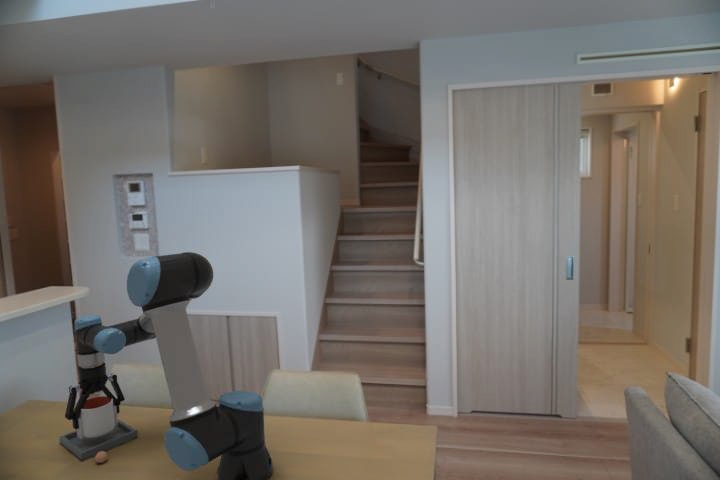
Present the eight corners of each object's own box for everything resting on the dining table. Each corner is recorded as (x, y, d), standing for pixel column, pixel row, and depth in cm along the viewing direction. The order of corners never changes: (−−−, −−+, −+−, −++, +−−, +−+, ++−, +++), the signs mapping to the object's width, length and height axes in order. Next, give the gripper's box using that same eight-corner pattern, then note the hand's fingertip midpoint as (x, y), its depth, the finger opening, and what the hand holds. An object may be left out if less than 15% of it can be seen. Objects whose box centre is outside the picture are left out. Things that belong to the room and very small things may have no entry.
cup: (100, 441, 150) (97, 410, 149) (72, 438, 152) (69, 408, 151) (122, 425, 160) (119, 396, 159) (96, 423, 162) (93, 395, 161)
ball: (109, 461, 144) (108, 451, 143) (98, 466, 141) (97, 456, 141) (105, 457, 146) (104, 447, 145) (93, 462, 143) (92, 452, 143)
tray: (137, 437, 157) (136, 430, 157) (81, 461, 144) (80, 453, 144) (114, 422, 168) (113, 416, 168) (60, 443, 155) (59, 436, 155)
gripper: (122, 351, 165) (127, 413, 167) (47, 372, 147) (54, 441, 150) (132, 356, 160) (138, 420, 162) (56, 378, 142) (64, 449, 145)
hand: (98, 430), depth 156 cm, fingers closed on cup, 10 cm apart
